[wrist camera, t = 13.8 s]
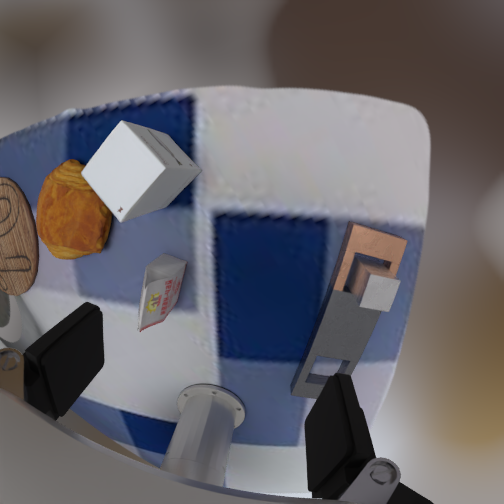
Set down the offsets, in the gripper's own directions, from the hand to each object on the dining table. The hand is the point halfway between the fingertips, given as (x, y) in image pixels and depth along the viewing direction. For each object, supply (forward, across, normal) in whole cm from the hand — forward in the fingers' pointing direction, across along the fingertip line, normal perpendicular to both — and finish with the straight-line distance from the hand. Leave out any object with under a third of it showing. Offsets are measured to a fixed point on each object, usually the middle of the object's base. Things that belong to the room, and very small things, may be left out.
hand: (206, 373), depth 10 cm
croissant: (+29, +28, +4) cm, 40 cm away
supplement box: (+28, +14, -5) cm, 32 cm away
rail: (+28, -16, +10) cm, 34 cm away
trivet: (+29, +50, +13) cm, 60 cm away
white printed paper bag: (+28, +10, +10) cm, 32 cm away
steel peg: (+28, -15, +2) cm, 32 cm away
